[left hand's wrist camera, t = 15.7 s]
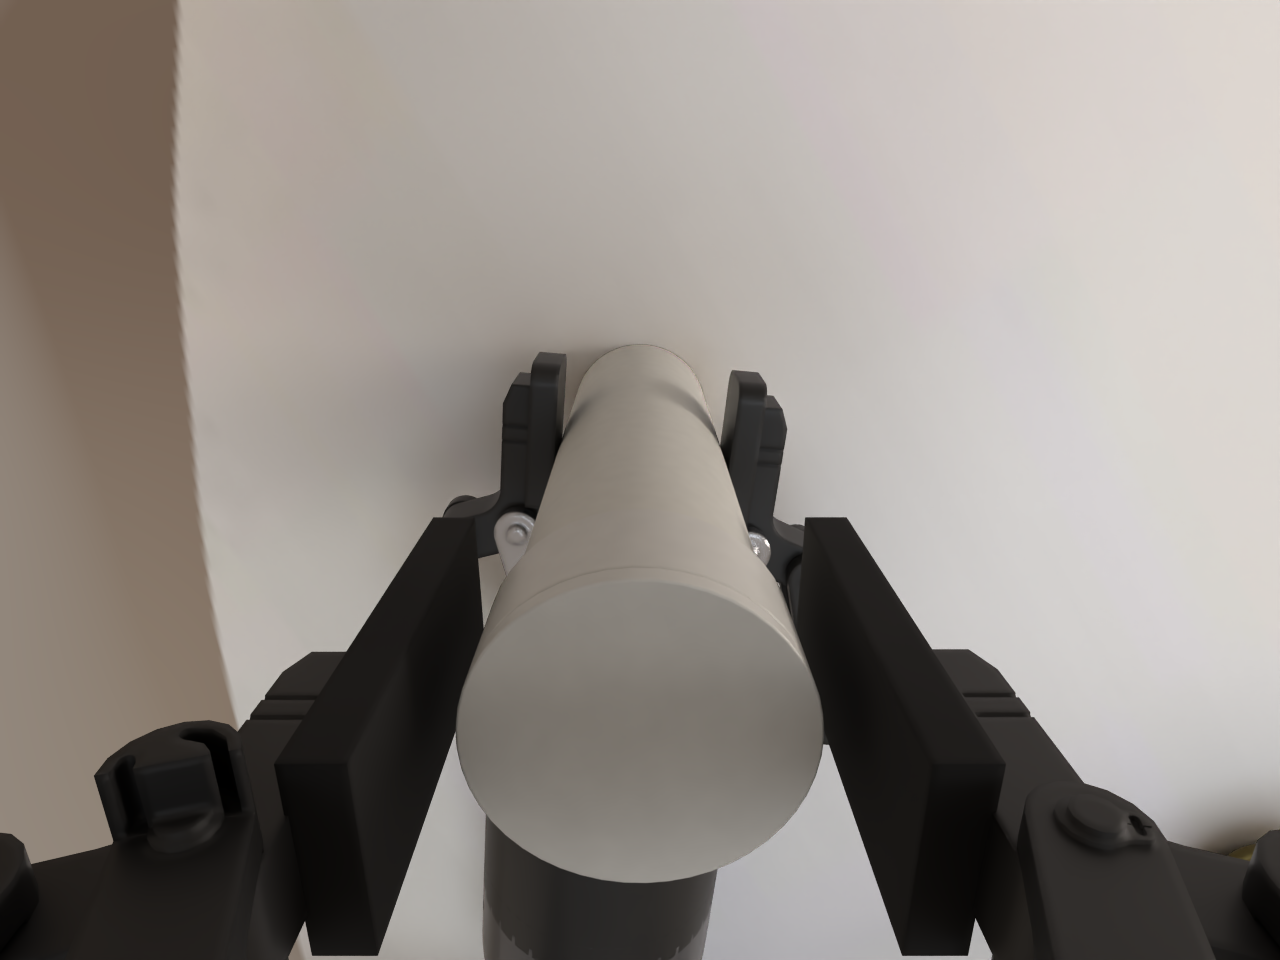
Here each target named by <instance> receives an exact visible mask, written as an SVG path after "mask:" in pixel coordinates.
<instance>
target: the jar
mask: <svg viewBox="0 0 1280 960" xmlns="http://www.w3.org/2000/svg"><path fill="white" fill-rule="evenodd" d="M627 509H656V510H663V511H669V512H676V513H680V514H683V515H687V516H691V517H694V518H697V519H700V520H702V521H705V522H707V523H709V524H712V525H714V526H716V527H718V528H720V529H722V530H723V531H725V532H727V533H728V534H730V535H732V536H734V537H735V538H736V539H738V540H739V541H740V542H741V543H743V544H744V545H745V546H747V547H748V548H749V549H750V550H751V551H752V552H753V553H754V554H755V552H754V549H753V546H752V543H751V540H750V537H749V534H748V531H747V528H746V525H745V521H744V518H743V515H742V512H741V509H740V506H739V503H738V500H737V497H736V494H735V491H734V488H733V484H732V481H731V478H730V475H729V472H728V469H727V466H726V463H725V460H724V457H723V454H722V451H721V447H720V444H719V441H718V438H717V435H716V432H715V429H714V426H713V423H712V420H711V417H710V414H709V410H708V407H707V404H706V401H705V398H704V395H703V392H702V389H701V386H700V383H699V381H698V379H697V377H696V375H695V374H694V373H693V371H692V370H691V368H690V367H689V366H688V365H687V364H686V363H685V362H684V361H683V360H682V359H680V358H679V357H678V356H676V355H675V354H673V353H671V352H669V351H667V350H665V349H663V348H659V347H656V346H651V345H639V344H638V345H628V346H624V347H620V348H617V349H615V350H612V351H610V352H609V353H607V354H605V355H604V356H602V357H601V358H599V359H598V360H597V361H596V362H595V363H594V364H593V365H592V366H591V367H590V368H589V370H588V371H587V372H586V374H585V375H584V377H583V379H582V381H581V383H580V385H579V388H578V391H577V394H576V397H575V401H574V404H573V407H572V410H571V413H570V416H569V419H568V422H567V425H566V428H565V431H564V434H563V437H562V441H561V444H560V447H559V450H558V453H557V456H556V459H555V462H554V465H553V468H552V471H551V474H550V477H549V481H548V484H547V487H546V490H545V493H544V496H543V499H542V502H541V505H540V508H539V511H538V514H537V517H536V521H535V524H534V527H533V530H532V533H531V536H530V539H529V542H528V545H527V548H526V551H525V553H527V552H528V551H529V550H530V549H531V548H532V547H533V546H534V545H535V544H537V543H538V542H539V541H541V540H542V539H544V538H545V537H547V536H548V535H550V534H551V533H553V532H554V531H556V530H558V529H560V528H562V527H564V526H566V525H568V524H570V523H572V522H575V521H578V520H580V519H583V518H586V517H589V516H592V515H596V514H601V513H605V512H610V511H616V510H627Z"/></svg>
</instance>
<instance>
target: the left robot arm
mask: <svg viewBox="0 0 1280 960" xmlns="http://www.w3.org/2000/svg"><path fill="white" fill-rule="evenodd" d="M483 630H484V628H483V615H482V602H481V590H480V577H479V565H478V552H477V540H476V527H475V517H433V519H432V520H431V522H430V524H429V525H428V527H427V528H426V530H425V531H424V533H423V534H422V536H421V537H420V539H419V541H418V542H417V544H416V545H415V547H414V548H413V550H412V551H411V553H410V554H409V556H408V558H407V559H406V561H405V562H404V564H403V565H402V567H401V568H400V570H399V571H398V573H397V575H396V576H395V578H394V579H393V581H392V582H391V584H390V585H389V587H388V588H387V590H386V591H385V593H384V595H383V596H382V598H381V599H380V601H379V602H378V604H377V605H376V607H375V608H374V610H373V612H372V613H371V615H370V616H369V618H368V619H367V621H366V622H365V624H364V625H363V627H362V629H361V630H360V632H359V633H358V635H357V636H356V638H355V639H354V641H353V642H352V644H351V645H350V647H349V649H348V650H347V652H311V653H310V654H308V655H307V656H305V657H304V658H302V659H301V660H299V661H298V662H297V663H295V664H294V665H292V666H291V667H289V668H288V669H286V670H285V671H283V672H282V674H281V675H280V676H279V678H278V679H277V680H276V682H275V683H274V684H273V686H272V687H271V688H270V690H269V691H268V692H267V694H266V695H265V700H261V702H260V703H259V704H258V705H257V707H256V708H255V709H254V711H253V712H252V713H251V715H250V720H246V721H245V723H244V724H243V725H242V727H241V728H240V729H239V731H238V732H237V731H236V730H235V729H233V728H232V727H231V726H230V725H229V724H224V723H220V722H215V721H210V720H207V721H191V722H182V723H179V724H175V725H171V726H168V727H164V728H160V729H157V730H154V731H152V732H150V733H148V734H146V735H144V736H142V737H139V738H137V739H135V740H133V741H131V742H129V743H128V744H126V745H125V746H124V747H122V748H121V749H120V750H118V751H117V752H115V753H114V754H113V755H111V756H110V757H109V758H107V760H106V761H105V762H104V764H103V765H102V766H101V767H100V769H99V770H98V771H97V772H96V774H95V775H94V778H95V781H96V784H97V788H98V791H99V794H100V798H101V801H102V804H103V808H104V811H105V814H106V818H107V821H108V824H109V828H110V831H111V834H112V838H113V844H112V845H108V846H105V847H102V848H98V849H95V850H90V851H86V852H82V853H77V854H73V855H69V856H65V857H60V858H56V859H52V860H47V861H43V862H39V863H34V864H31V863H30V860H29V857H28V855H27V852H26V849H25V846H24V844H23V843H22V842H21V841H19V840H18V839H17V838H16V837H14V836H13V835H12V834H6V833H0V960H289V959H288V956H289V954H290V952H291V950H292V948H293V945H294V943H295V941H296V939H297V937H298V935H299V933H300V930H301V928H302V926H303V924H304V922H306V927H307V932H308V937H309V942H310V947H311V952H312V956H378V953H379V951H380V948H381V945H382V942H383V939H384V936H385V933H386V930H387V927H388V925H389V922H390V919H391V916H392V913H393V910H394V907H395V904H396V901H397V899H398V896H399V893H400V890H401V887H402V884H403V881H404V878H405V875H406V873H407V870H408V867H409V864H410V861H411V858H412V855H413V852H414V850H415V847H416V844H417V841H418V838H419V835H420V832H421V829H422V826H423V824H424V821H425V818H426V815H427V812H428V809H429V806H430V803H431V800H432V798H433V795H434V792H435V789H436V786H437V783H438V780H439V777H440V774H441V772H442V769H443V766H444V763H445V760H446V757H447V754H448V751H449V749H450V746H451V743H452V740H453V737H454V734H455V731H456V729H455V727H456V717H457V707H458V703H459V699H460V696H461V692H462V688H463V685H464V682H465V680H466V677H467V674H468V671H469V669H470V666H471V663H472V660H473V658H474V655H475V652H476V649H477V647H478V644H479V641H480V638H481V636H482V633H483ZM796 632H797V634H798V637H799V640H800V643H801V646H802V648H803V651H804V654H805V657H806V659H807V662H808V665H809V668H810V670H811V673H812V676H813V679H814V682H815V684H816V687H817V690H818V693H819V695H820V700H821V705H822V711H823V716H824V731H825V734H826V737H827V740H828V743H829V746H830V749H831V751H832V754H833V757H834V760H835V763H836V766H837V769H838V772H839V775H840V777H841V780H842V783H843V786H844V789H845V792H846V795H847V798H848V800H849V803H850V806H851V809H852V812H853V815H854V818H855V821H856V824H857V826H858V829H859V832H860V835H861V838H862V841H863V844H864V847H865V850H866V852H867V855H868V858H869V861H870V864H871V867H872V870H873V873H874V876H875V878H876V881H877V884H878V887H879V890H880V893H881V896H882V899H883V901H884V904H885V907H886V910H887V913H888V916H889V919H890V922H891V925H892V927H893V930H894V933H895V936H896V939H897V942H898V945H899V948H900V951H901V953H902V956H968V952H969V947H970V942H971V937H972V932H973V927H974V922H975V918H976V920H977V922H978V924H979V927H980V929H981V931H982V933H983V935H984V937H985V939H986V942H987V944H988V946H989V948H990V950H991V952H992V959H991V960H1280V830H1272V831H1269V832H1268V833H1266V834H1265V835H1264V836H1262V837H1261V838H1260V839H1259V840H1257V843H1256V846H1255V849H1254V852H1253V855H1252V857H1251V860H1250V861H1247V860H1243V859H1239V858H1234V857H1230V856H1226V855H1221V854H1217V853H1213V852H1208V851H1204V850H1200V849H1195V848H1191V847H1187V846H1183V845H1180V844H1176V843H1173V842H1170V841H1167V840H1166V838H1165V837H1164V836H1163V834H1162V833H1161V831H1160V830H1159V828H1158V827H1157V825H1156V824H1155V822H1154V821H1153V820H1152V819H1151V818H1149V817H1148V816H1147V815H1146V814H1145V813H1143V812H1142V811H1141V810H1140V809H1138V808H1137V807H1136V806H1135V805H1134V804H1132V803H1130V802H1128V801H1127V800H1125V799H1123V798H1121V797H1119V796H1117V795H1115V794H1113V793H1111V792H1109V791H1108V790H1104V789H1101V788H1098V787H1094V786H1091V785H1088V784H1085V783H1084V782H1083V781H1082V780H1081V779H1080V777H1079V776H1078V775H1077V773H1076V772H1075V771H1074V769H1073V768H1072V767H1071V765H1070V764H1069V763H1068V761H1067V760H1066V759H1065V757H1064V756H1063V755H1062V754H1061V752H1060V751H1059V750H1058V748H1057V747H1056V746H1055V744H1054V743H1053V742H1052V740H1051V739H1050V738H1049V736H1048V735H1047V734H1046V732H1045V731H1044V730H1043V728H1042V727H1041V726H1040V725H1039V723H1038V722H1037V721H1036V719H1035V718H1034V717H1031V716H1030V711H1029V710H1028V709H1027V707H1026V706H1025V705H1024V703H1023V702H1022V701H1021V700H1020V698H1019V697H1016V696H1015V692H1014V690H1013V689H1012V688H1011V686H1010V685H1009V684H1008V682H1007V681H1006V680H1005V678H1004V677H1003V676H1002V675H1001V673H1000V672H999V671H998V669H996V668H995V667H993V666H992V665H990V664H989V663H987V662H986V661H985V660H983V659H982V658H980V657H979V656H977V655H976V654H974V653H973V652H971V651H970V650H969V649H931V647H930V646H929V644H928V642H927V641H926V639H925V638H924V636H923V635H922V633H921V632H920V630H919V629H918V627H917V625H916V624H915V622H914V621H913V619H912V618H911V616H910V615H909V613H908V612H907V610H906V608H905V607H904V605H903V604H902V602H901V601H900V599H899V598H898V596H897V595H896V593H895V591H894V590H893V588H892V587H891V585H890V584H889V582H888V581H887V579H886V578H885V576H884V575H883V573H882V571H881V570H880V568H879V567H878V565H877V564H876V562H875V561H874V559H873V558H872V556H871V554H870V553H869V551H868V550H867V548H866V547H865V545H864V544H863V542H862V541H861V539H860V537H859V536H858V534H857V533H856V531H855V530H854V528H853V527H852V525H851V524H850V522H849V521H848V519H847V517H805V527H804V540H803V552H802V565H801V577H800V590H799V602H798V615H797V627H796Z"/></svg>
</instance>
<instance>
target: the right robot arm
mask: <svg viewBox="0 0 1280 960" xmlns="http://www.w3.org/2000/svg"><path fill="white" fill-rule="evenodd" d="M565 380H566V354H557V353H546V352H539V354H538V355H537V357H536V358H535V360H534V362H533V364H532V370H531V373H522V372H520V373H519V375H518V376H517V378H516V379H515V380H514V382H513V383H512V385H511V387H510V389H509V391H508V394H507V396H506V398H505V400H504V402H503V423H502V424H503V427H502V455H501V488H500V490H499V491H498V492H496V493H494V494H492V495H489V496H485V497H481V498H475V497H473V496H468V495H464V496H459V497H456V498H455V499H453V500H452V501H451V502H450V504H449V505H448V507H447V508H446V510H445V512H444V514H443V517H475V527H476V540H477V552H478V558H482V557H486V556H490V555H494V554H498V553H499V554H500V557H501V560H502V563H503V567H504V570H505V573H506V576H507V575H508V574H509V572H510V570H511V569H512V568H513V567H514V566H515V565H516V563H517V562H518V561H519V560H520V559H521V557H522V556H523V555H524V554H525V551H526V548H527V545H528V542H529V539H530V536H531V533H532V530H533V527H534V524H535V521H536V517H537V514H538V511H539V508H540V505H541V502H542V499H543V496H544V493H545V490H546V487H547V484H548V481H549V477H550V474H551V471H552V468H553V465H554V462H555V459H556V456H557V453H558V450H559V447H560V444H561V441H562V431H563V414H564V397H565ZM786 433H787V426H786V422H785V418H784V414H783V410H782V408H781V407H780V405H779V404H778V402H777V401H776V399H775V398H774V396H769V395H767V386H766V383H765V382H764V380H763V379H762V377H761V376H760V374H759V373H757V372H747V371H736V370H732V371H731V374H730V379H729V385H728V392H727V399H726V407H725V414H724V422H723V429H722V437H721V444H720V447H721V451H722V454H723V457H724V460H725V463H726V466H727V469H728V472H729V475H730V478H731V481H732V484H733V488H734V491H735V494H736V497H737V500H738V503H739V506H740V509H741V512H742V515H743V518H744V521H745V525H746V528H747V531H748V534H749V537H750V540H751V543H752V546H753V549H754V552H755V555H756V556H757V557H758V558H759V559H760V560H761V561H762V562H763V563H764V565H765V566H766V567H767V569H768V570H769V571H770V573H771V574H772V575H773V577H774V578H775V580H776V582H778V583H779V585H780V590H781V591H782V593H783V596H784V599H785V601H786V604H787V607H788V610H789V612H790V615H791V618H792V621H793V623H794V626H795V629H796V627H797V615H798V602H799V590H800V577H801V565H802V552H803V540H804V527H805V526H802V525H796V524H795V525H788V524H786V523H784V522H782V521H779V520H778V519H776V518H774V517H773V512H774V506H775V500H776V494H777V488H778V482H779V476H780V469H781V463H782V457H783V449H784V445H785V439H786ZM823 744H826V745H829V743H828V740H827V737H826V734H825V731H824V741H823ZM716 874H717V869H715V870H713V871H710V872H707V873H703V874H700V875H696V876H693V877H689V878H684V879H678V880H673V881H665V882H653V883H624V882H616V881H607V880H601V879H596V878H592V877H587V876H583V875H579V874H576V873H573V872H570V871H567V870H564V869H561V868H559V867H557V866H554V865H552V864H550V863H548V862H546V861H544V860H541V859H540V858H538V857H536V856H535V855H533V854H531V853H530V852H528V851H526V850H525V849H523V848H522V847H520V846H519V845H518V844H516V843H515V842H514V841H513V840H511V839H510V838H509V837H507V836H506V835H505V834H504V833H503V832H502V831H501V830H500V829H499V828H498V827H497V826H496V825H495V824H494V823H493V822H492V821H491V820H490V819H489V817H488V816H487V815H486V830H485V863H484V895H483V949H484V958H485V960H702V956H703V951H704V947H705V941H706V935H707V929H708V923H709V917H710V911H711V904H712V898H713V892H714V886H715V880H716Z"/></svg>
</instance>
